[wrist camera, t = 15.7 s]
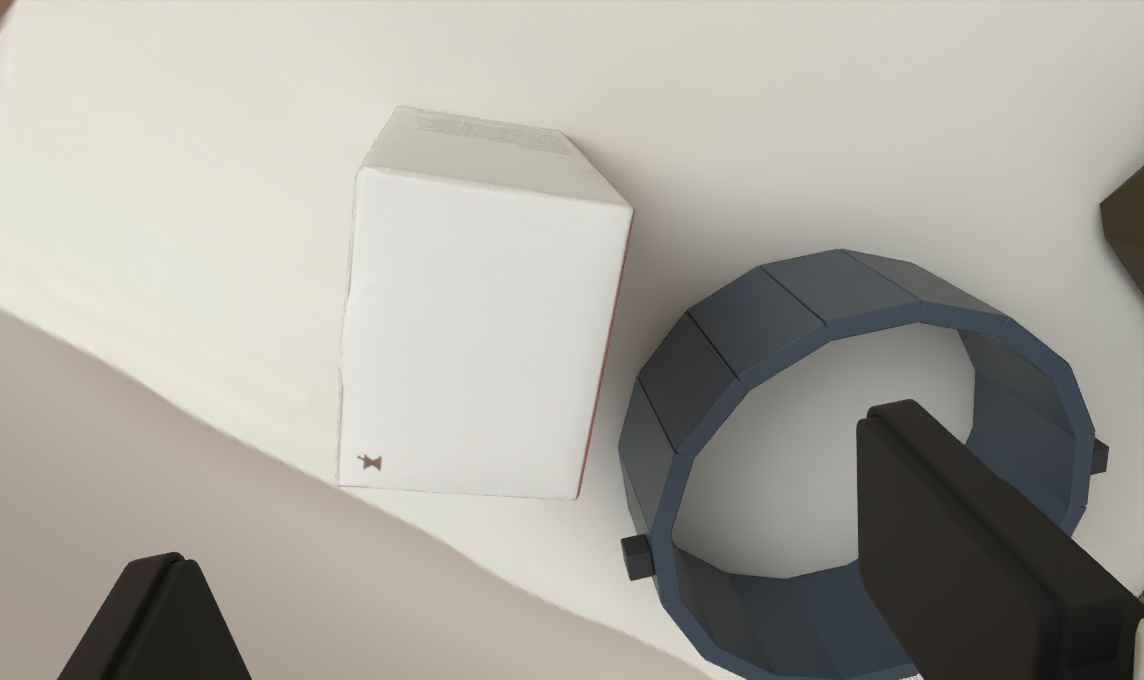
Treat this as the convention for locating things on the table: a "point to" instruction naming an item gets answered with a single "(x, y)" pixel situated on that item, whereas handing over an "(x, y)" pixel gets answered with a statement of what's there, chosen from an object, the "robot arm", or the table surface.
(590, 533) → the table surface
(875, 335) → the table surface
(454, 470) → the small box
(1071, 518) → the blue-grey ring
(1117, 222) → the bottle
